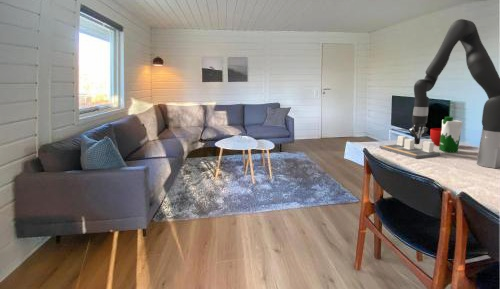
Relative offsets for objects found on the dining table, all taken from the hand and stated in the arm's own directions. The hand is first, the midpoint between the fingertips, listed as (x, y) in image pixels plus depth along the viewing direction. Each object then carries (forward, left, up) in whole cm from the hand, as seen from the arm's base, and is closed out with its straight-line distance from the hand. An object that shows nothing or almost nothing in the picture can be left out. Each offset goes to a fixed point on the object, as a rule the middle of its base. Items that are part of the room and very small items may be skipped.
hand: (416, 144), depth 171 cm
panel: (0, +6, -4) cm, 7 cm away
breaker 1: (+9, +2, -2) cm, 9 cm away
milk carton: (-7, -17, -4) cm, 19 cm away
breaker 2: (-9, +2, -2) cm, 10 cm away
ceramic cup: (+5, -29, -4) cm, 30 cm away
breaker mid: (0, +6, -2) cm, 6 cm away
